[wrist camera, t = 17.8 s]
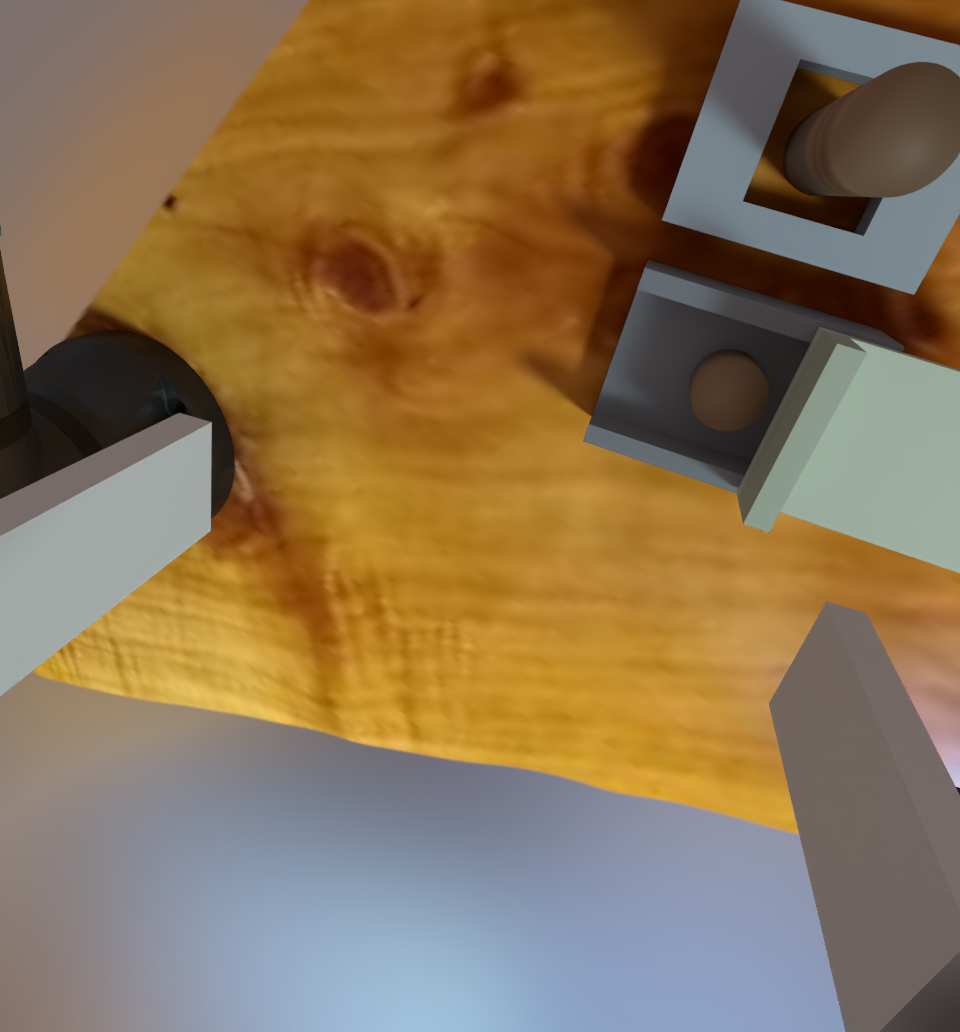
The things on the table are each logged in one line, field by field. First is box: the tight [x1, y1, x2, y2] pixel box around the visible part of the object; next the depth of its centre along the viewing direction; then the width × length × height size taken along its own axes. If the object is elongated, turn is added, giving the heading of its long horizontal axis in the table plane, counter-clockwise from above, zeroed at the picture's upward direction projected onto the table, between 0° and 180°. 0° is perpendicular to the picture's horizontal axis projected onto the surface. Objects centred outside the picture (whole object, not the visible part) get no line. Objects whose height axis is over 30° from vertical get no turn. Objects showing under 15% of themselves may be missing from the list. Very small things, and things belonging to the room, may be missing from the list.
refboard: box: [583, 260, 905, 493], centre depth 34 cm, size 12×9×4 cm
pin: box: [783, 62, 960, 198], centre depth 26 cm, size 4×4×12 cm
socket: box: [662, 0, 960, 295], centre depth 30 cm, size 12×9×2 cm
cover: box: [737, 327, 960, 573], centre depth 30 cm, size 11×9×4 cm
